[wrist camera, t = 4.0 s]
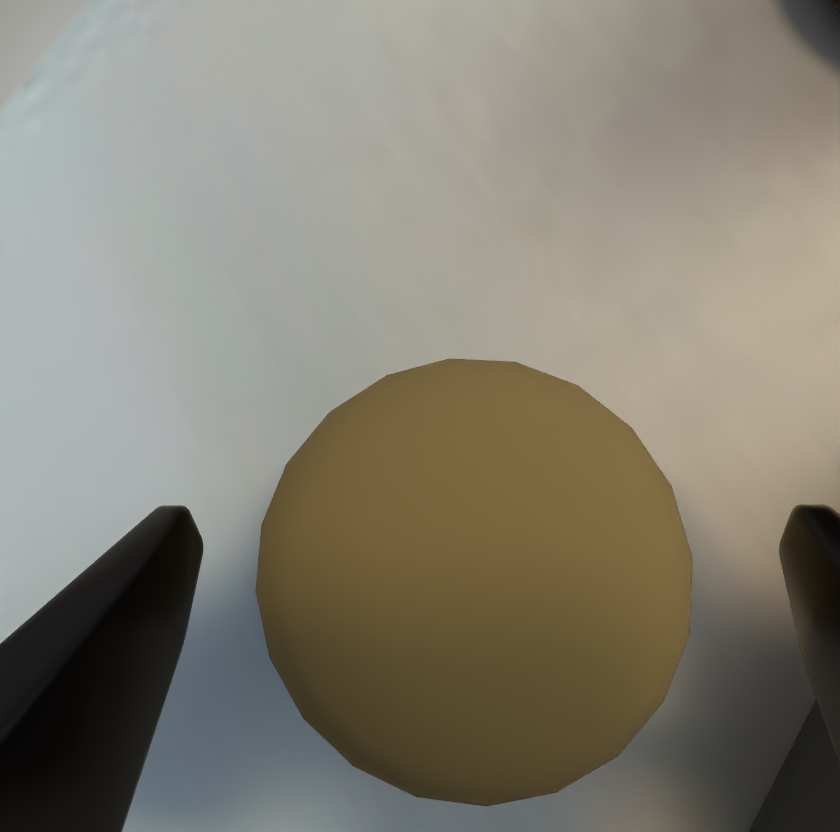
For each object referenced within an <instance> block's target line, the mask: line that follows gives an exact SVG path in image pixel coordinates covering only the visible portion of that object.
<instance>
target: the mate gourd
mask: <svg viewBox="0 0 840 832" xmlns="http://www.w3.org/2000/svg"><path fill="white" fill-rule="evenodd" d="M831 2H832V3H833V4H834V6H835V7H836V8H837V9H838V11H839V12H840V0H831Z"/></svg>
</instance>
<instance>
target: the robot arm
mask: <svg viewBox="0 0 840 832" xmlns="http://www.w3.org/2000/svg"><path fill="white" fill-rule="evenodd" d="M779 554H780V560H781V565H782V569H783V574H784V578H785V583H786V587H787V592H788V596H789V601H790V605H791V609H792V614H793V618H794V623H795V627H796V632H797V636H798V641H799V645H800V649H801V653H802V657H803V660H804V663H805V666H806V669H807V672H808V675H809V678H810V681H811V684H812V687H813V689H814V692H815V695H816V698H817V701H818V704H819V706H820V709H821V712H822V715H823V718H824V721H825V723H826V726H827V729H828V732H829V735H830V738H831V740H832V743H833V746H834V749H835V752H836V755H837V757H838V760H839V763H840V514H838V513H837V512H836V511H835V510H834V509H832V508H831V507H829V506H826V505H797V506H796V507H795V508H793V510H792V512H791V514H790V517H789V520H788V522H787V525H786V528H785V530H784V533H783V535H782V538H781V541H780V546H779ZM202 555H203V541H202V537H201V535H200V533H199V531H198V528H197V526H196V524H195V522H194V520H193V518H192V515H191V513H190V511H189V510H188V509H187V508H186V507H185V506H160V507H158V508H157V509H155V510H154V511H153V512H152V513H150V514H149V515H148V516H147V517H146V518H145V519H144V520H142V521H141V522H140V523H139V524H138V525H137V526H135V527H134V528H133V529H132V530H131V531H130V532H129V533H127V534H126V535H125V536H124V537H123V538H122V539H120V540H119V541H118V542H117V543H116V544H115V545H114V546H112V547H111V548H110V549H109V550H108V551H107V552H105V553H104V554H103V555H102V556H101V557H100V558H99V559H97V560H96V561H95V562H94V563H93V564H92V565H90V566H89V567H88V568H87V569H86V570H85V571H84V572H82V573H81V574H80V575H79V576H78V577H77V578H76V579H74V580H73V581H72V582H71V583H70V584H69V585H67V586H66V587H65V588H64V589H63V590H62V591H61V592H59V593H58V594H57V595H56V596H55V597H54V598H52V599H51V600H50V601H49V602H48V603H47V604H46V605H44V606H43V607H42V608H41V609H40V610H39V611H37V612H36V613H35V614H34V615H33V616H32V617H31V618H29V619H28V620H27V621H26V622H25V623H24V624H22V625H21V626H20V627H19V628H18V629H17V630H16V631H14V632H13V633H12V634H11V635H10V636H9V637H8V638H6V639H5V640H4V641H3V642H2V643H1V644H0V832H122V829H123V826H124V823H125V820H126V817H127V814H128V811H129V808H130V805H131V802H132V799H133V796H134V793H135V790H136V787H137V784H138V781H139V778H140V775H141V772H142V768H143V765H144V762H145V759H146V756H147V753H148V750H149V747H150V744H151V741H152V738H153V735H154V732H155V729H156V726H157V723H158V720H159V717H160V714H161V711H162V708H163V705H164V702H165V699H166V696H167V693H168V690H169V687H170V684H171V681H172V678H173V675H174V671H175V668H176V665H177V662H178V659H179V656H180V653H181V650H182V646H183V643H184V639H185V635H186V631H187V627H188V622H189V617H190V612H191V608H192V603H193V598H194V593H195V589H196V584H197V579H198V574H199V570H200V565H201V560H202Z"/></svg>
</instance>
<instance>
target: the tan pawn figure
mask: <svg viewBox="0 0 840 832" xmlns="http://www.w3.org/2000/svg"><path fill="white" fill-rule="evenodd" d="M691 580H692V557H691V552H690V549H689V545H688V542H687V538H686V535H685V531H684V528H683V524H682V521H681V518H680V514H679V511H678V507H677V504H676V500H675V497H674V493H673V490H672V486H671V485H670V483H669V482H668V480H667V479H666V478H665V476H664V475H663V473H662V472H661V470H660V469H659V467H658V466H657V464H656V463H655V461H654V460H653V458H652V457H651V455H650V454H649V452H648V451H647V449H646V448H645V446H644V445H643V443H642V442H641V440H640V439H639V438H638V436H637V435H636V433H635V432H634V430H633V429H632V428H631V427H630V426H629V425H627V424H626V423H625V422H624V421H622V420H621V419H620V418H619V417H617V416H616V415H615V414H614V413H612V412H611V411H610V410H608V409H607V408H606V407H605V406H603V405H602V404H601V403H600V402H598V401H597V400H596V399H594V398H593V397H592V396H591V395H589V394H588V393H587V392H586V391H584V390H583V389H582V388H581V387H579V386H578V385H575V384H572V383H570V382H567V381H564V380H562V379H559V378H556V377H554V376H551V375H549V374H546V373H543V372H541V371H538V370H535V369H533V368H530V367H527V366H525V365H522V364H519V363H517V362H506V361H485V360H465V359H446V360H443V361H439V362H435V363H431V364H428V365H424V366H420V367H416V368H413V369H409V370H405V371H401V372H398V373H394V374H390V375H387V376H385V377H383V378H382V379H380V380H379V381H377V382H376V383H374V384H373V385H371V386H369V387H368V388H366V389H365V390H363V391H362V392H360V393H359V394H357V395H355V396H354V397H352V398H351V399H349V400H348V401H346V402H344V403H343V404H341V405H340V406H338V407H337V408H335V409H334V410H332V411H331V412H330V413H329V414H328V415H327V416H326V417H325V418H324V419H323V421H322V422H321V423H320V424H319V425H318V427H317V428H316V429H315V430H314V431H313V433H312V434H311V435H310V436H309V437H308V439H307V440H306V441H305V442H304V443H303V445H302V446H301V447H300V448H299V450H298V451H297V452H296V453H295V454H294V456H293V457H292V458H291V459H290V460H289V462H288V463H287V464H286V466H285V469H284V471H283V474H282V476H281V479H280V481H279V484H278V486H277V488H276V491H275V493H274V496H273V498H272V501H271V503H270V505H269V508H268V510H267V513H266V515H265V518H264V520H263V523H262V526H261V537H260V548H259V559H258V570H257V581H256V596H257V600H258V605H259V610H260V615H261V619H262V624H263V629H264V634H265V638H266V643H267V648H268V653H269V657H270V659H271V661H272V663H273V665H274V667H275V668H276V670H277V672H278V674H279V676H280V677H281V679H282V681H283V683H284V685H285V686H286V688H287V690H288V692H289V694H290V695H291V697H292V699H293V701H294V703H295V705H296V706H297V708H298V710H299V712H300V714H301V715H302V717H303V719H305V720H306V721H307V722H308V723H309V724H310V725H311V726H312V727H313V728H314V729H315V730H316V731H317V732H318V733H319V734H320V735H321V736H322V737H323V738H324V739H325V740H326V741H328V742H329V743H330V744H331V745H332V746H333V747H334V748H335V749H336V750H337V751H338V752H339V753H340V754H341V755H342V756H343V757H344V758H345V759H346V760H347V761H348V762H349V763H351V764H352V765H353V766H354V767H356V768H358V769H360V770H362V771H364V772H366V773H368V774H370V775H372V776H374V777H377V778H379V779H381V780H383V781H385V782H387V783H389V784H391V785H393V786H395V787H397V788H399V789H401V790H403V791H405V792H407V793H409V794H411V795H413V796H416V797H420V798H428V799H435V800H443V801H450V802H458V803H465V804H473V805H480V806H491V805H496V804H501V803H506V802H511V801H516V800H521V799H526V798H531V797H536V796H541V795H546V794H551V793H556V792H558V791H559V790H561V789H563V788H564V787H566V786H568V785H570V784H571V783H573V782H575V781H576V780H578V779H580V778H581V777H583V776H585V775H587V774H588V773H590V772H592V771H593V770H595V769H597V768H598V767H600V766H602V765H603V764H605V763H607V762H609V761H610V760H612V759H614V758H615V757H617V756H618V755H619V754H620V753H621V751H622V750H623V749H624V748H625V747H626V745H627V744H628V743H629V742H630V741H631V739H632V738H633V737H634V736H635V735H636V734H637V732H638V731H639V730H640V729H641V728H642V726H643V725H644V724H645V723H646V722H647V720H648V719H649V718H650V717H651V716H652V715H653V713H654V712H655V711H656V710H657V709H658V707H659V706H660V705H661V704H662V703H663V701H664V699H665V696H666V694H667V691H668V689H669V686H670V683H671V681H672V678H673V675H674V673H675V670H676V668H677V665H678V662H679V660H680V657H681V655H682V652H683V649H684V647H685V644H686V641H687V639H688V636H689V633H690V607H691Z"/></svg>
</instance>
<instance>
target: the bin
mask: <svg viewBox="0 0 840 832" xmlns="http://www.w3.org/2000/svg"><path fill="white" fill-rule="evenodd" d="M750 832H840V763H839V760H838V757H837V755H836V752H835V749H834V746H833V743H832V740H831V738H830V735H829V732H828V729H827V726H826V723H825V721H824V718H823V715H822V712H821V709H820V706H819V704H818V701H816V703H815V705H814V707H813V709H812V711H811V713H810V715H809V717H808V719H807V721H806V723H805V724H804V726H803V728H802V730H801V732H800V734H799V736H798V738H797V740H796V742H795V744H794V746H793V748H792V750H791V752H790V754H789V756H788V758H787V760H786V762H785V764H784V766H783V768H782V770H781V772H780V774H779V776H778V777H777V779H776V781H775V783H774V785H773V787H772V789H771V791H770V793H769V795H768V797H767V799H766V801H765V803H764V805H763V807H762V809H761V811H760V813H759V815H758V817H757V819H756V821H755V823H754V825H753V827H752V829H751V831H750Z"/></svg>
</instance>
